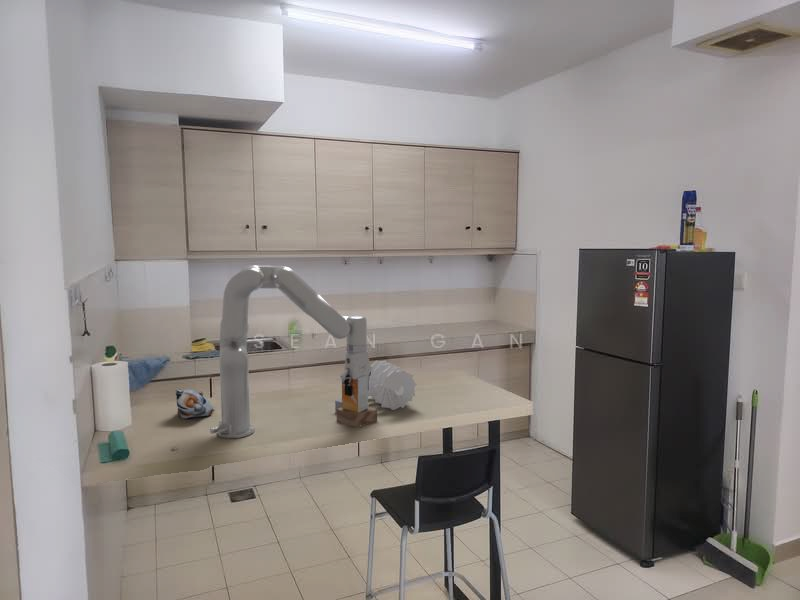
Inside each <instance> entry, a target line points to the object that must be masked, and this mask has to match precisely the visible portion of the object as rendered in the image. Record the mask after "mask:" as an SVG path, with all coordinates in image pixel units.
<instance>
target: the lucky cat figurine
mask: <svg viewBox="0 0 800 600" xmlns="http://www.w3.org/2000/svg"><path fill="white" fill-rule="evenodd" d="M203 395H204V393H203V391H199V392H197V391H195V390H194V389H192V388H191V389H189V388H188V389H187V388H186V389H183V390H181V388H177V389H175V396H176V406H177V411H176V412H177V413H176V414H177V416H178V417H179V418H181V419H183V420H185V419H189V418H198V417H211V415H212V414H213V412H214V411H215V408H214V407H213V406H212V404H210V401H209V399H208V398H207V397H205V396H203Z"/></svg>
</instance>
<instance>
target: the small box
mask: <svg viewBox="0 0 800 600" xmlns="http://www.w3.org/2000/svg"><path fill="white" fill-rule="evenodd" d="M349 380H350V379H348V382H349ZM351 386H352V396H347V395H345V385H344V384H343V382H342V381H341V399H342V409H346V410H350V411H354V412H358V413H359V412H361V411H363V410H365V409H368V406H369V396H368V376H367V375H365V376H362V377H359V378H357V379H355V380H353V381H352V384H351Z"/></svg>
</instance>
